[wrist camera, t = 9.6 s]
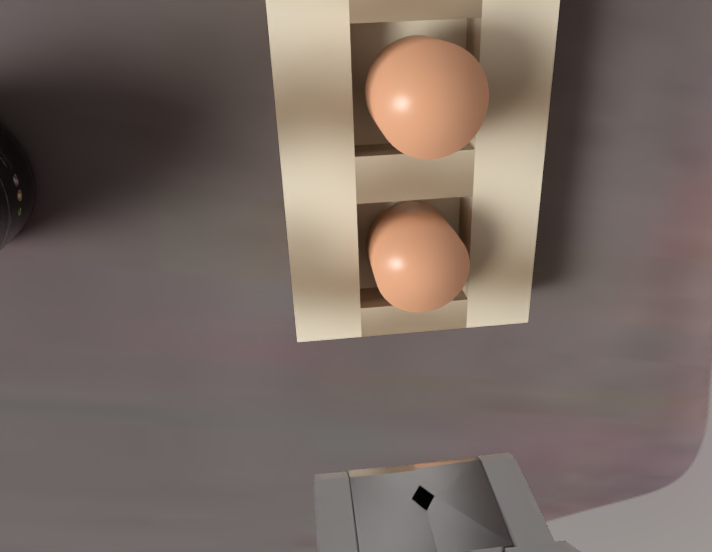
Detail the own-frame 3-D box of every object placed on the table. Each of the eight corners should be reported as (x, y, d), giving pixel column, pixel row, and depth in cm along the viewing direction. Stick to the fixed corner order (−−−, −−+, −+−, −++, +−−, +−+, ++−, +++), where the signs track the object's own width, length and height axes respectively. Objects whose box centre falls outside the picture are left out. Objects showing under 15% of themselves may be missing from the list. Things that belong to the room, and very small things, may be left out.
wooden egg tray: (246, -239, 21) (240, -274, 18) (550, -243, 22) (587, -276, 19) (296, 311, 30) (297, 342, 28) (507, 293, 31) (527, 322, 29)
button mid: (363, 37, 22) (373, 43, 20) (467, 32, 23) (492, 38, 20) (366, 144, 24) (376, 162, 21) (463, 138, 24) (485, 156, 22)
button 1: (365, 204, 27) (374, 228, 24) (453, 198, 27) (472, 221, 24) (367, 285, 28) (376, 316, 26) (450, 278, 29) (467, 308, 26)
